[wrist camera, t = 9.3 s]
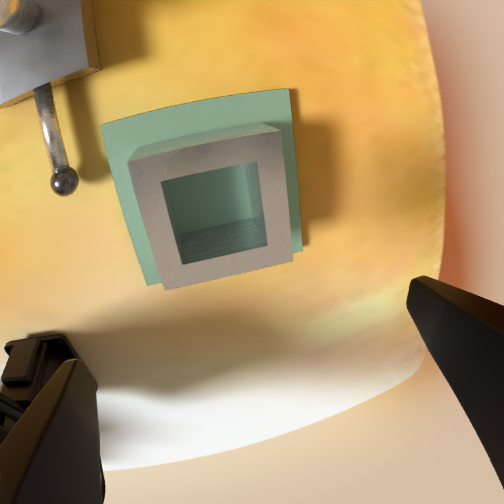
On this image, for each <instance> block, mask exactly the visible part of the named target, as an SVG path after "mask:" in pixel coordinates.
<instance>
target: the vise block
mask: <svg viewBox="0 0 504 504" xmlns="http://www.w3.org/2000/svg"><path fill="white" fill-rule="evenodd" d="M99 70H101V66H100V60H99V54H98V47H97V40H96V32H95V25H94V16H93V7H92V0H0V109H2V108H6V107H10V106H12V105H14V104H16V103H18V102H20V101H22V100H24V99H26V98H29V97H31V96H33V95H34V98H35V103H36V108H37V113H38V117H39V122H40V126H41V131H42V135H43V139H44V143H45V147H46V151H47V154H48V158H49V162H50V165H51V169H52V172H53V174H52V177H51V187H52V190H53V191H54V192H55V193H56V194H57V195H59V196H68V195H71V194H72V193H73V192H74V191H75V190H76V189H77V186H78V183H79V177H78V174H77V172H76V171H75V170H74V169H73V168H72V167H70V165H69V162H68V158H67V154H66V150H65V147H64V143H63V139H62V134H61V130H60V126H59V121H58V117H57V112H56V108H55V103H54V97H53V92H52V87H55V86H57V85H60V84H62V83H65V82H67V81H70V80H73V79H76V78H78V77H81V76H84V75H87V74H90V73H93V72H96V71H99Z"/></svg>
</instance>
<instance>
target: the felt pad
mask: <svg viewBox="0 0 504 504" xmlns="http://www.w3.org/2000/svg"><path fill="white" fill-rule="evenodd" d="M258 122H262V123H264V124H267V125H269V126H271V127H274V128H276V129H278V130H281V138H282V147H283V156H284V166H285V175H286V186H287V196H288V207H289V218H290V230H291V242H292V253H295V252H300V251H303V248H302V232H301V217H300V203H299V189H298V177H297V165H296V154H295V144H294V134H293V124H292V114H291V105H290V96H289V89H277V90H267V91H259V92H251V93H244V94H237V95H230V96H224V97H218V98H212V99H206V100H201V101H195V102H190V103H185V104H180V105H176V106H171V107H167V108H162V109H158V110H154V111H150V112H146V113H142V114H138V115H134V116H130V117H127V118H123V119H119V120H116V121H113V122H109V123H106V124H103V125H100V128H101V133H102V137H103V141H104V145H105V149H106V154H107V158H108V161H109V165H110V169H111V173H112V177H113V180H114V184H115V188H116V191H117V195H118V198H119V202H120V205H121V208H122V212H123V215H124V218H125V221H126V225H127V228H128V231H129V234H130V237H131V240H132V243H133V246H134V249H135V252H136V255H137V258H138V261H139V264H140V267H141V270H142V272H143V275H144V278H145V281H146V284H147V286H149V285H154V284H158V283H162V280H161V277H160V274H159V271H158V268H157V265H156V262H155V259H154V256H153V253H152V250H151V247H150V243H149V240H148V237H147V234H146V230H145V227H144V224H143V220H142V217H141V213H140V210H139V206H138V203H137V199H136V196H135V192H134V188H133V184H132V181H131V177H130V173H129V169H128V165H127V161H128V159H129V158H130V156H131V155H132V154H133V152H134V151H135V149H136V148H137V147H140V146H144V145H148V144H152V143H156V142H160V141H164V140H169V139H173V138H178V137H182V136H187V135H191V134H196V133H201V132H206V131H211V130H217V129H222V128H228V127H233V126H239V125H245V124H252V123H258ZM168 184H169V189H170V193H171V197H172V201H173V205H174V209H175V213H176V217H177V221H178V225H179V229H180V233H181V234H182V233H186V232H191V231H195V230H200V229H204V228H209V227H213V226H218V225H222V224H227V223H231V222H236V221H241V220H245V219H250V218H252V213H251V206H250V199H249V192H248V185H247V178H246V172H245V165H244V164H240V165H235V166H230V167H225V168H220V169H215V170H210V171H205V172H201V173H196V174H191V175H187V176H182V177H178V178H174V179H169V180H168Z"/></svg>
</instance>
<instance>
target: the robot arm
mask: <svg viewBox="0 0 504 504" xmlns="http://www.w3.org/2000/svg"><path fill="white" fill-rule="evenodd" d="M406 305H407V309H408V311H409V313H410V315H411V317H412V319H413V321H414V323H415V325H416V327H417V329H418V331H419V333H420V335H421V337H422V339H423V341H424V343H425V345H426V346H427V348H428V350H429V352H430V354H431V355H432V357H433V359H434V360H435V362H436V363H437V365H438V367H439V368H440V370H441V371H442V373H443V375H444V376H445V378H446V380H447V382H448V383H449V385H450V387H451V388H452V390H453V392H454V394H455V395H456V397H457V399H458V400H459V402H460V404H461V406H462V407H463V409H464V411H465V413H466V415H467V416H468V418H469V420H470V422H471V424H472V426H473V428H474V429H475V431H476V433H477V435H478V437H479V439H480V441H481V443H482V444H483V446H484V449H485V450H486V453H487V454H488V456H489V458H490V461H491V463H492V465H493V467H494V469H495V471H496V473H497V476H498V478H499V480H500V482H501V484H502V486H503V489H504V306H503V305H500V304H498V303H495V302H493V301H490V300H488V299H485V298H483V297H480V296H477V295H475V294H472V293H470V292H467V291H464V290H462V289H459V288H456V287H454V286H452V285H449V284H446V283H444V282H441V281H438V280H436V279H433V278H430V277H428V276H419V277H416V278H414V279H412V280H411V282H410V285H409V291H408V296H407V301H406ZM61 341H62V342H61ZM4 349H5V351H6V353H7V354H8V355H9V358H8V361H7V363H6V366H5V369H4V371H3V374H2V377H1V381H2V383H3V385H2V388H1V391H0V504H103V503H104V498H105V480H104V475H103V469H102V464H101V458H100V435H99V423H98V412H97V398H96V391H97V388H98V385H97V383H96V382H95V380H94V379H93V377H92V376H91V374H90V373H89V371H88V370H87V368H86V367H85V365H84V364H83V362H82V361H81V360H80V358H79V357H78V355H77V354H76V352H75V351H74V349H73V348H72V346H71V344H70V343H69V341H68V340H67V338H66V337H65V336H64V335H61V334H58V335H52V336H46V337H40V338H34V339H28V340H22V341H15V342H9V343H6V345H5V347H4Z"/></svg>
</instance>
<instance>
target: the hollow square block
mask: <svg viewBox="0 0 504 504" xmlns="http://www.w3.org/2000/svg"><path fill="white" fill-rule="evenodd" d="M240 164H244V165H245V172H246V178H247V185H248V192H249V199H250V206H251V213H252V218H250V219H245V220H241V221H236V222H231V223H227V224H222V225H218V226H213V227H209V228H204V229H200V230H195V231H191V232H186V233H182V234H181V233H180V229H179V225H178V221H177V217H176V213H175V209H174V205H173V201H172V197H171V193H170V189H169V184H168V180H169V179H174V178H178V177H182V176H187V175H191V174H196V173H201V172H205V171H210V170H215V169H220V168H225V167H230V166H235V165H240ZM127 165H128V169H129V173H130V177H131V181H132V184H133V188H134V192H135V196H136V199H137V203H138V206H139V210H140V213H141V217H142V220H143V224H144V227H145V230H146V234H147V237H148V240H149V243H150V247H151V250H152V253H153V256H154V259H155V262H156V265H157V268H158V271H159V274H160V277H161V280H162V283H163V286H164V289H165V290H170V289H174V288H179V287H183V286H188V285H192V284H197V283H201V282H206V281H210V280H214V279H219V278H223V277H228V276H232V275H236V274H241V273H245V272H249V271H253V270H258V269H262V268H266V267H271V266H275V265H279V264H283V263H287V262H292V261H293V254H292V242H291V230H290V218H289V207H288V196H287V186H286V175H285V166H284V156H283V147H282V138H281V130H278V129H276V128H274V127H271V126H269V125H267V124H264V123H262V122H258V123H252V124H245V125H239V126H233V127H228V128H222V129H217V130H211V131H206V132H201V133H196V134H191V135H187V136H182V137H178V138H173V139H169V140H164V141H160V142H156V143H152V144H148V145H144V146H140V147H137V148H136V149H135V151H134V152H133V154H132V155H131V156H130V158H129V159H128V161H127Z"/></svg>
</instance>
